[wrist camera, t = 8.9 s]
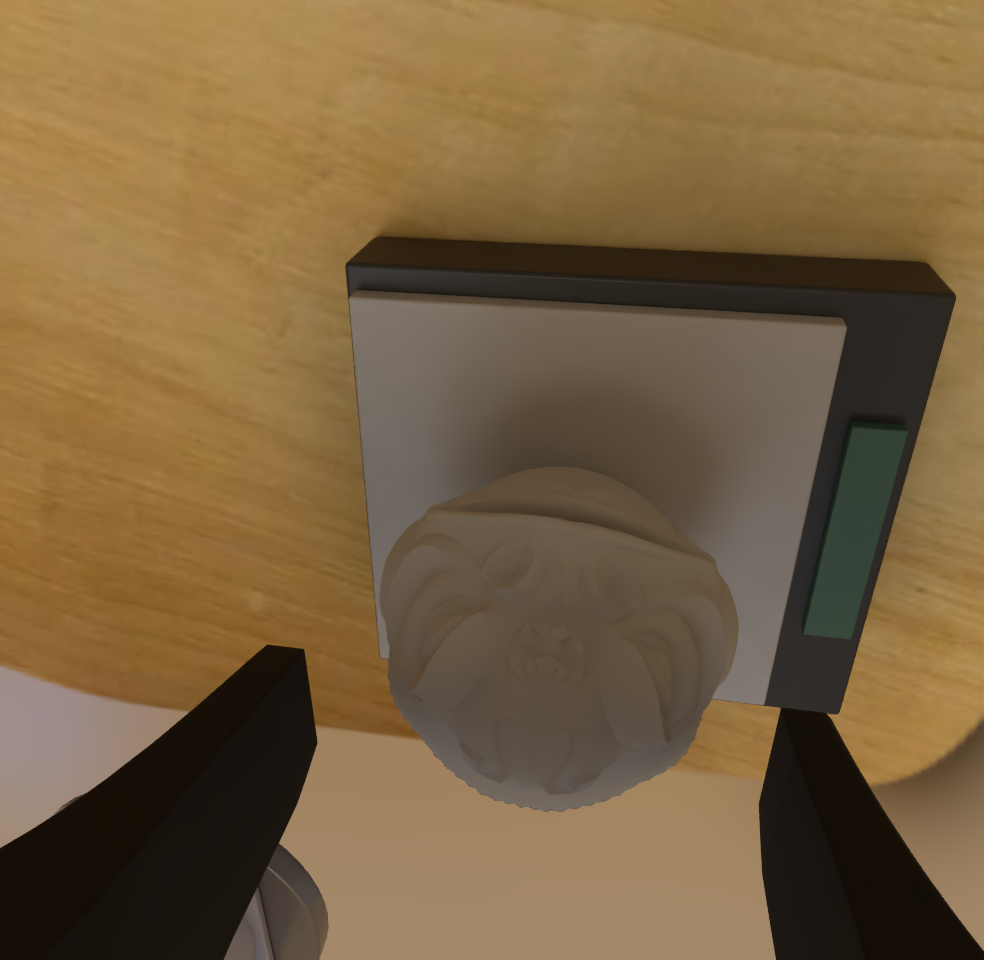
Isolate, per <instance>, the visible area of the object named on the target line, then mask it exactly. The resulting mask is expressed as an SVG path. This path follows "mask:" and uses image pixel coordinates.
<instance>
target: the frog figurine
mask: <svg viewBox="0 0 984 960" xmlns="http://www.w3.org/2000/svg"><path fill="white" fill-rule="evenodd" d="M379 604H380V610H381V614H382V616H383V619H384V621H385V623H386V633H387V641H388V644H389V647H390V649H389V660H388V664H389V671H388V678H389V682H390V692H391V695H392V696H393V698H394V702H395V705H396V707H397V708H398V709H399V710H400V712H401V714H402V716H403V718H404V719H405V720H406V721H407V722H408V723H409V724H410V725H411V727H412V729H413V730H414V731H415V732H416V733H417V734H419V735H420V736H421V738H422V739H423V741H424V742H425V743H426V744H427V746H428V747H429V748H430V749H431V750H432V752H433V754H434V755H435V757H437V758H438V759H439V760H441V762H442V763H443V764H444V766H445V767H447V769H449V770H451V771H452V772H453V773H454V774H455V775H456V776H457V777H458V778H460V779H462V780H464V781H465V782H466V783H467V784H468V785H469V786H471V787H473V788H475V789H476V790H477V791H478V792H479V793H480V794H482V795H485V796H488V797H490V798H492V799H493V800H495V801H503V802H505V803H508V804H515V805H517V806H519V807H520V808H521V807H529V808H532V809H535V810H543V811H545V812H548V811H559V812H562V811H565V810H567V809H577V808H579V807H582V806H590V805H593V804H595V803H598V802H603V801H607V800H608V799H610V798H612V797H614V796H618V795H621V794H622V793H623V792H624V791H626V790H628V789H630V788H632V787H634V786H636V785H637V784H639V783H641V782H644V781H647V780H650V779H651V778H653V777H654V776H656V775H659V774H661V773H664V772H665V771H666V770H667V769H668V768H669V767H671V766H673V765H676V763H677V762H678V761H679V760H680V758H681V757H682V756H684V755H685V754H686V752H687V750H688V749H689V747H690V745H691V743H692V742H693V740H694V739H695V735H696V732H697V728H698V727H699V725H700V721H701V718H702V714H703V711H704V709H705V708H706V707H707V706H708V705H709V703H710V701H711V699H712V697H713V695H714V693H715V691H716V689H717V687H718V686H719V685H720V684H721V683H723V682H724V681H725V679H726V678H727V676H728V674H729V672H730V671H731V667H732V664H733V660H734V656H735V652H736V647H737V641H738V632H739V623H738V617H737V611H736V607H735V603H734V600H733V597H732V594H731V591H730V589H729V587H728V585H727V584H726V582H725V580H724V579H723V577H722V576H721V575H720V574H719V572H718V570H717V565H716V562H715V559H714V558H713V557H712V556H711V555H710V554H709V553H707V552H705V551H703V550H702V549H701V548H700V547H699V546H697V545H696V544H695V543H694V542H693V541H692V540H690V539H688V538H687V536H686V535H685V533H684V532H683V531H682V530H681V529H677V528H674V527H673V526H672V525H671V524H670V523H669V521H668V520H667V519H666V518H665V517H664V516H663V515H662V514H661V513H660V512H659V511H658V510H657V509H656V508H655V507H654V506H653V505H652V504H651V503H650V502H649V501H648V500H647V499H645V498H644V497H643V496H641V495H640V494H639V493H637V492H636V491H635V490H633V489H631V488H630V487H628V486H626V485H625V484H623V483H621V482H619V481H617V480H615V479H613V478H610V477H608V476H606V475H603V474H600V473H597V472H594V471H590V470H585V469H581V468H573V467H541V468H535V469H528V470H523V471H520V472H517V473H514V474H511V475H508V476H506V477H503V478H501V479H498V480H496V481H494V482H493V483H491V484H489V485H487V486H486V487H484V488H482V489H480V490H477V491H475V492H472V491H465V492H464V493H463V494H462V495H461V496H460V497H457V498H454V499H451V500H449V501H446V502H444V503H437V504H435V505H433V506H431V507H429V509H428V510H427V511H426V514H425V515H424V516H423V517H422V518H421V519H419V520H417V521H415V522H414V523H413V524H412V525H410V526H409V527H408V528H407V529H406V530H405V531H404V533H403V534H402V535H401V536H400V538H399V539H398V540H397V541H396V543H395V545H394V546H393V548H392V550H391V551H390V553H389V555H388V557H387V559H386V562H385V566H384V570H383V574H382V579H381V586H380V597H379Z"/></svg>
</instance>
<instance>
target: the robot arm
mask: <svg viewBox="0 0 984 960" xmlns="http://www.w3.org/2000/svg"><path fill="white" fill-rule="evenodd" d="M316 746H317V736H316V729H315V722H314V715H313V708H312V701H311V694H310V687H309V680H308V673H307V666H306V659H305V652H304V649H299V648H291V647H283V646H274V645H266V646H265V647H264V648H263V649H261V650H260V651H259V652H258V653H257V654H256V655H254V656H253V657H252V658H251V659H250V660H249V661H248V662H246V663H245V664H244V665H243V666H242V667H241V668H240V669H238V670H237V671H236V672H235V673H234V674H233V675H232V676H231V677H229V678H228V679H227V680H226V681H225V682H224V683H223V684H221V685H220V686H219V687H218V688H217V689H216V690H215V691H214V692H212V693H211V694H210V695H209V696H208V697H207V698H206V699H204V700H203V701H202V702H201V703H200V704H199V705H197V706H196V707H195V708H194V709H193V710H192V711H190V712H189V713H188V714H187V715H186V716H185V717H183V718H182V719H181V720H180V721H179V722H177V723H176V724H175V725H174V726H173V727H171V728H170V729H169V730H168V731H167V732H165V733H164V734H163V735H162V736H161V737H159V738H158V739H157V740H156V741H155V742H153V743H152V744H151V745H150V746H148V747H147V748H146V749H144V750H143V751H142V752H141V753H139V754H138V755H137V756H135V757H134V758H133V759H131V760H130V761H129V762H128V763H126V764H125V765H124V766H123V767H121V768H120V769H119V770H117V771H116V772H115V773H114V774H112V775H111V776H110V777H108V778H107V779H106V780H104V781H103V782H101V783H100V784H99V785H97V786H96V787H95V788H93V789H92V790H90V791H89V792H88V793H86V794H85V795H83V796H82V797H80V798H79V799H78V800H76V801H75V802H73V803H72V804H70V805H69V806H67V807H66V808H64V809H63V810H61V811H60V812H58V813H57V814H55V815H54V816H52V817H51V818H49V819H47V820H46V821H44V822H43V823H41V824H40V825H38V826H37V827H35V828H33V829H32V830H30V831H29V832H27V833H25V834H23V835H22V836H20V837H18V838H17V839H15V840H13V841H12V842H10V843H8V844H7V845H5V846H3V847H1V848H0V960H274V956H273V952H272V947H271V943H270V938H269V934H268V929H267V925H266V920H265V916H264V911H263V907H262V902H261V898H260V893H259V889H258V885H259V883H260V881H261V879H262V877H263V875H264V873H265V871H266V869H267V867H268V865H269V863H270V860H271V858H272V856H273V854H274V852H275V850H276V848H277V846H278V844H279V841H280V839H281V837H282V835H283V833H284V831H285V828H286V827H287V824H288V822H289V820H290V818H291V816H292V814H293V812H294V809H295V807H296V805H297V803H298V800H299V797H300V794H301V791H302V788H303V785H304V783H305V780H306V777H307V774H308V770H309V767H310V764H311V761H312V758H313V755H314V752H315V748H316ZM759 819H760V839H761V840H760V841H761V860H762V875H763V881H764V888H765V894H766V901H767V907H768V913H769V919H770V925H771V932H772V938H773V944H774V950H775V956H776V960H984V951H983V950H982V948H981V947H980V946H979V944H978V943H977V942H976V941H975V940H974V938H973V937H972V936H971V934H970V933H969V932H968V931H967V929H966V928H965V927H964V925H963V924H962V923H961V921H960V920H959V919H958V917H957V916H956V915H955V913H954V912H953V911H952V909H951V908H950V906H949V905H948V904H947V902H946V901H945V900H944V898H943V897H942V895H941V894H940V893H939V891H938V890H937V889H936V887H935V886H934V885H933V883H932V882H931V881H930V879H929V878H928V876H927V875H926V873H925V872H924V871H923V869H922V867H921V866H920V865H919V863H918V862H917V860H916V859H915V857H914V856H913V854H912V853H911V851H910V850H909V848H908V847H907V845H906V844H905V842H904V841H903V839H902V837H901V836H900V834H899V833H898V832H897V830H896V828H895V827H894V825H893V824H892V822H891V821H890V819H889V818H888V816H887V815H886V813H885V811H884V810H883V808H882V807H881V805H880V803H879V802H878V800H877V799H876V797H875V795H874V794H873V792H872V790H871V789H870V787H869V785H868V783H867V782H866V780H865V778H864V777H863V775H862V773H861V772H860V770H859V768H858V766H857V765H856V763H855V761H854V760H853V758H852V756H851V754H850V752H849V751H848V749H847V747H846V745H845V743H844V742H843V740H842V738H841V736H840V734H839V732H838V731H837V729H836V727H835V725H834V723H833V721H832V720H831V718H830V717H829V716H828V715H827V714H826V713H823V712H815V711H807V710H799V709H791V708H782V707H781V711H780V715H779V719H778V724H777V728H776V732H775V737H774V741H773V745H772V750H771V754H770V758H769V762H768V767H767V771H766V775H765V780H764V784H763V788H762V792H761V797H760V801H759Z"/></svg>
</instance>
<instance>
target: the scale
mask: <svg viewBox="0 0 984 960" xmlns="http://www.w3.org/2000/svg"><path fill="white" fill-rule="evenodd" d="M346 278H347V289H348V301H349V312H350V323H351V335H352V346H353V358H354V369H355V380H356V392H357V403H358V415H359V426H360V437H361V449H362V460H363V472H364V483H365V494H366V506H367V517H368V529H369V540H370V551H371V563H372V574H373V586H374V597H375V608H376V620H377V631H378V643H379V654H380V657H381V658H382V659H389V649H390V647H389V644H388V641H387V633H386V623H385V621H384V619H383V616H382V614H381V610H380V604H379V597H380V586H381V579H382V574H383V570H384V566H385V562H386V559H387V557H388V555H389V553H390V551H391V550H392V548H393V546H394V545H395V543H396V541H397V540H398V539H399V538H400V536H401V535H402V534H403V533H404V531H405V530H406V529H407V528H408V527H409V526H410V525H412V524H413V523H414V522H415V521H417V520H419V519H421V518H422V517H423V516H424V515H425V514H426V511H427V510H428V509H429V507H431V506H433V505H435V504H437V503H444V502H446V501H449V500H451V499H454V498H457V497H460V496H461V495H462V494H463V493H464V492H465V491H472V492H475V491H477V490H480V489H482V488H484V487H486V486H487V485H489V484H491V483H493V482H494V481H496V480H498V479H501V478H503V477H506V476H508V475H511V474H514V473H517V472H520V471H523V470H528V469H535V468H541V467H573V468H581V469H585V470H590V471H594V472H597V473H600V474H603V475H606V476H608V477H610V478H613V479H615V480H617V481H619V482H621V483H623V484H625V485H626V486H628V487H630V488H631V489H633V490H635V491H636V492H637V493H639V494H640V495H641V496H643V497H644V498H645V499H647V500H648V501H649V502H650V503H651V504H652V505H653V506H654V507H655V508H656V509H657V510H658V511H659V512H660V513H661V514H662V515H663V516H664V517H665V518H666V519H667V520H668V521H669V523H670V524H671V525H672V526H673V527H674V528H677V529H681V530H682V531H683V532H684V533H685V535H686V536H687V538H688V539H690V540H692V541H693V542H694V543H695V544H696V545H697V546H699V547H700V548H701V549H702V550H703V551H705V552H707V553H709V554H710V555H711V556H712V557H713V558H714V559H715V562H716V565H717V570H718V572H719V574H720V575H721V576H722V577H723V579H724V580H725V582H726V584H727V585H728V587H729V589H730V591H731V594H732V597H733V600H734V603H735V607H736V611H737V617H738V623H739V632H738V641H737V647H736V652H735V656H734V660H733V664H732V667H731V671H730V672H729V674H728V676H727V678H726V679H725V681H724V682H723V683H721V684H720V685H719V686H718V687H717V689H716V691H715V693H714V695H713V697H712V699H714V700H723V701H731V702H739V703H747V704H755V705H763V706H771V707H779V708H781V707H782V708H791V709H799V710H807V711H815V712H823V713H828V714H839V712H840V709H841V706H842V702H843V699H844V695H845V691H846V688H847V684H848V681H849V677H850V674H851V670H852V667H853V663H854V659H855V656H856V652H857V649H858V645H859V642H860V638H861V635H862V631H863V627H864V624H865V620H866V617H867V613H868V610H869V606H870V603H871V599H872V596H873V592H874V588H875V585H876V581H877V578H878V574H879V571H880V567H881V564H882V560H883V556H884V553H885V549H886V546H887V542H888V539H889V535H890V532H891V528H892V524H893V521H894V517H895V514H896V510H897V507H898V503H899V500H900V496H901V492H902V489H903V485H904V482H905V478H906V475H907V471H908V468H909V464H910V461H911V457H912V453H913V450H914V446H915V443H916V439H917V436H918V432H919V429H920V425H921V421H922V418H923V414H924V411H925V407H926V404H927V400H928V397H929V393H930V389H931V386H932V382H933V379H934V375H935V372H936V368H937V365H938V361H939V357H940V354H941V350H942V347H943V343H944V340H945V336H946V333H947V329H948V326H949V322H950V318H951V315H952V311H953V308H954V304H955V301H956V295H955V293H954V292H953V291H952V290H951V289H950V288H949V287H948V286H947V284H946V283H945V282H944V281H943V280H942V279H941V278H940V277H939V276H938V274H937V273H936V272H935V271H934V270H933V269H932V268H931V267H930V265H929V264H927V263H918V262H897V261H876V260H855V259H834V258H812V257H791V256H770V255H749V254H727V253H706V252H685V251H664V250H642V249H621V248H600V247H579V246H558V245H536V244H515V243H494V242H473V241H451V240H430V239H409V238H388V237H376V238H374V239H373V240H371V241H370V242H369V243H368V244H367V245H366V246H365V247H364V248H363V249H361V250H360V251H359V252H358V253H357V254H356V255H355V256H354V257H353V258H351V259H350V260H349V261H348V262H347V263H346Z"/></svg>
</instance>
